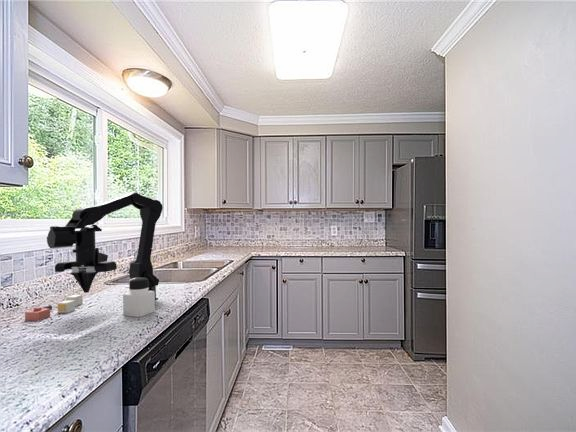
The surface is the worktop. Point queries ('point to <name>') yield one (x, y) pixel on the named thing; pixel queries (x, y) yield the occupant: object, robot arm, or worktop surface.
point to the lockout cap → (37, 314)
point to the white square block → (75, 299)
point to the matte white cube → (66, 306)
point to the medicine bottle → (138, 298)
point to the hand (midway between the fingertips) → (86, 292)
